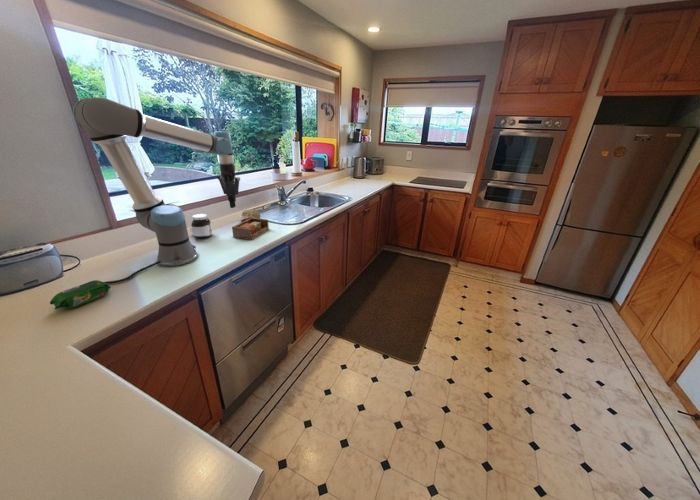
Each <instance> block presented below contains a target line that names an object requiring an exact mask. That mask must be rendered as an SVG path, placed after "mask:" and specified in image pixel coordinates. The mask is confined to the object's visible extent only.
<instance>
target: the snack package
mask: <svg viewBox="0 0 700 500" xmlns="http://www.w3.org/2000/svg"><path fill="white" fill-rule="evenodd" d="M105 282H106V281H102V280H99V279H95V280H89V281H87V282H86V283H83V284H80V285H76V286H74V287H71V288H68V289H65V290H62V291H60V292H58V293H56V294H55V295H54V296H53V297H52V298H51V299H50V301H49V304H50V305H52V306H53V305H54V310H58V309H61V308H62V309H63V308H64V309H72V308H77V307H79V306H82V305H85V304H87V303H90V302H92V301H95V300H97V299H99V298H102V297H104V296H106V295H107V294H108V292H109V291H110V290H111V288H112V287H111V285H110V284H107V283H105Z"/></svg>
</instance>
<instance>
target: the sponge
mask: <svg viewBox="0 0 700 500" xmlns="http://www.w3.org/2000/svg"><path fill="white" fill-rule="evenodd" d="M250 218H258V219H261V213H260V212H259V210H256V209H255V208H254V209H253V208H250V209H244V210H242V211H241V219H240V223H241V222H243V221H245V220H248V219H250Z"/></svg>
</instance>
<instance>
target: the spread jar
mask: <svg viewBox="0 0 700 500" xmlns="http://www.w3.org/2000/svg"><path fill="white" fill-rule="evenodd" d="M191 217H192V221H191V224H190V226H189V231H190V232H191V233H192V235H193V237H194V238H196V239H202V240H203V239H207V238H210V237H211V236H212V233H213V227H212V221H211V220H210V219H209V218H208V215H207V213H197V214H193V215H192V216H191Z"/></svg>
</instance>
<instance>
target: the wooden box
mask: <svg viewBox="0 0 700 500" xmlns="http://www.w3.org/2000/svg"><path fill="white" fill-rule="evenodd" d="M269 229H270V227H269V219H265V218H260V219H258V218H250V219H248V220H245V221H243V222H241V221H240V222H239V223H237V224H235V225H233V226H231V231H232V237H233V238H236V239H243V240H248V241H252V240H254V239H255V238H258V237H259V236H260V235H263V234H264V233H265V232H267V231H269Z"/></svg>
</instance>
